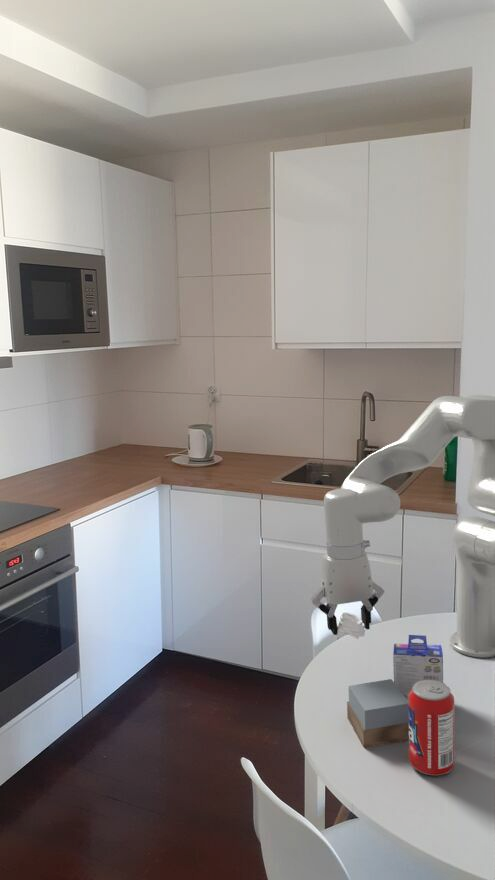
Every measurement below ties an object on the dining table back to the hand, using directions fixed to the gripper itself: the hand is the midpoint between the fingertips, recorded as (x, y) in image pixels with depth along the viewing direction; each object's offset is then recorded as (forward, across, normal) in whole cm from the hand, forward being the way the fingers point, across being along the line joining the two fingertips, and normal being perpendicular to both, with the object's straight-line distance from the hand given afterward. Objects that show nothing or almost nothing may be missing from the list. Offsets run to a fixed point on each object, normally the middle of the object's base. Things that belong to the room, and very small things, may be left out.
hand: (349, 628), depth 148 cm
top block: (+11, -1, +15) cm, 18 cm away
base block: (+15, -1, +14) cm, 21 cm away
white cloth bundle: (+1, 0, 0) cm, 1 cm away
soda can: (+15, -6, +27) cm, 31 cm away
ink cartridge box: (+15, -11, +8) cm, 21 cm away
